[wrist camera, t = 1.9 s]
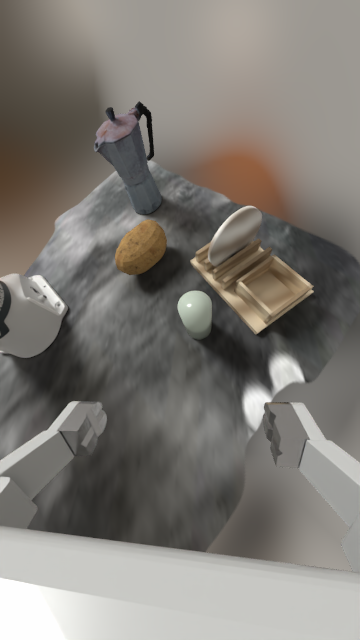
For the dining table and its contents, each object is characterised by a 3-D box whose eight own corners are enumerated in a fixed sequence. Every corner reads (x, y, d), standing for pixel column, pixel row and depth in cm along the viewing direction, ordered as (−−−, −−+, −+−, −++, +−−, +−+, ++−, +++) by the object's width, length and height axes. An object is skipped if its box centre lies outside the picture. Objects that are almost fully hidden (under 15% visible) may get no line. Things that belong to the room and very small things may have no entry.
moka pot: (119, 213, 53) (70, 121, 35) (154, 181, 56) (125, 79, 37) (141, 226, 50) (100, 132, 31) (176, 191, 52) (158, 85, 34)
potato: (115, 273, 46) (97, 251, 38) (150, 235, 48) (139, 208, 41) (142, 291, 43) (128, 271, 35) (178, 249, 45) (172, 223, 38)
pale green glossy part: (181, 325, 38) (171, 303, 28) (201, 311, 39) (198, 284, 28) (196, 344, 36) (190, 328, 26) (216, 329, 37) (218, 308, 27)
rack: (190, 263, 43) (183, 215, 31) (236, 232, 44) (247, 173, 32) (255, 334, 35) (280, 307, 23) (310, 294, 36) (361, 247, 24)
